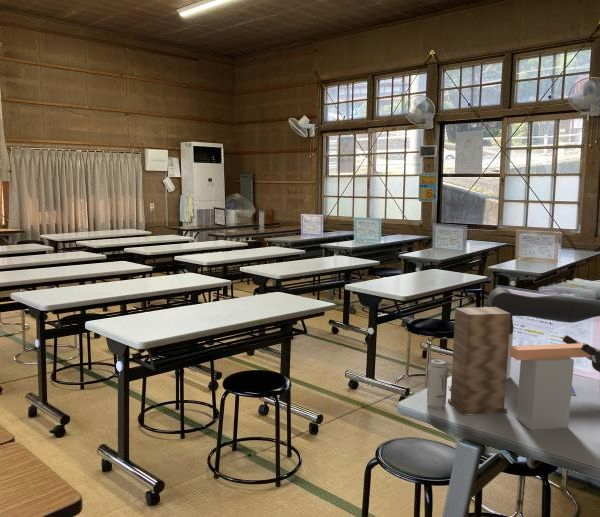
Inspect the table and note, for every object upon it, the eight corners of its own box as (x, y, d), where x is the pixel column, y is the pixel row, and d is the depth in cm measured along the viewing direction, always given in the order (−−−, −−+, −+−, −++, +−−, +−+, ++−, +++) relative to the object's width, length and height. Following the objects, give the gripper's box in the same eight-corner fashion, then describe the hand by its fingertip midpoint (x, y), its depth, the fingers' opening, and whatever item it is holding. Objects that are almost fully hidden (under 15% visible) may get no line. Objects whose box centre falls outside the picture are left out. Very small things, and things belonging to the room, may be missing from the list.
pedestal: (461, 415, 173) (467, 315, 168) (447, 402, 183) (452, 307, 178) (506, 412, 176) (513, 313, 171) (490, 399, 186) (496, 306, 181)
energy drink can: (439, 411, 176) (442, 365, 174) (423, 406, 180) (425, 361, 178) (449, 405, 180) (451, 361, 178) (432, 400, 184) (434, 357, 182)
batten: (517, 360, 161) (517, 350, 161) (509, 355, 165) (510, 346, 165) (590, 356, 165) (591, 347, 165) (582, 352, 169) (582, 343, 169)
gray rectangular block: (531, 430, 163) (536, 361, 160) (516, 418, 171) (521, 353, 168) (568, 427, 165) (574, 359, 162) (551, 416, 173) (557, 351, 170)
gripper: (623, 384, 163) (582, 360, 159) (590, 368, 176) (552, 345, 173) (636, 362, 162) (596, 337, 159) (602, 348, 176) (564, 325, 173)
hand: (573, 341), depth 166 cm, fingers open, 8 cm apart
